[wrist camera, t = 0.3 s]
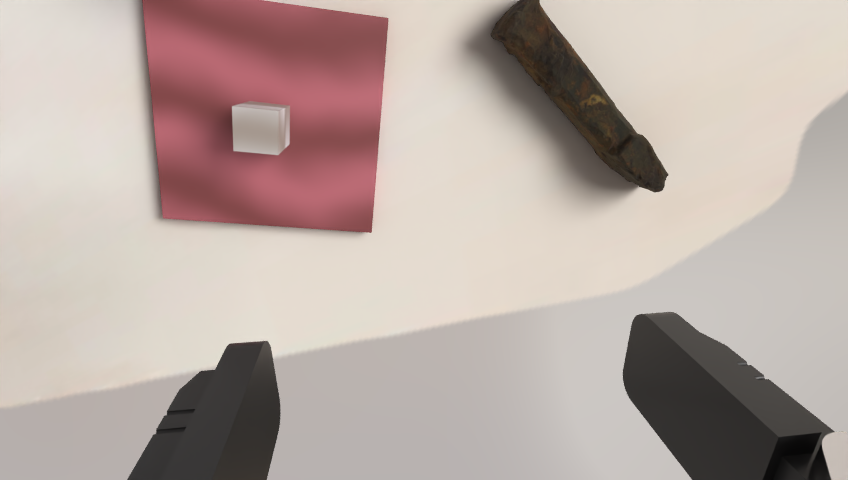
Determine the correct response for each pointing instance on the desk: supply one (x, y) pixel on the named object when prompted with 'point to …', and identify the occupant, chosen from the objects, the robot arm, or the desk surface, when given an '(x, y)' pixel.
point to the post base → (270, 72)
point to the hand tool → (578, 93)
